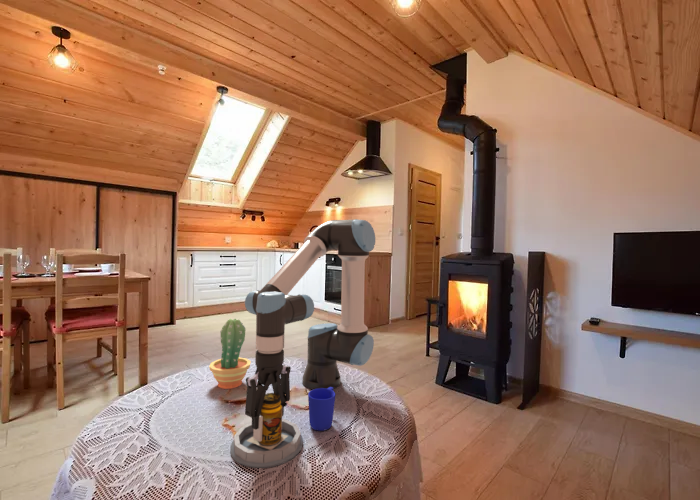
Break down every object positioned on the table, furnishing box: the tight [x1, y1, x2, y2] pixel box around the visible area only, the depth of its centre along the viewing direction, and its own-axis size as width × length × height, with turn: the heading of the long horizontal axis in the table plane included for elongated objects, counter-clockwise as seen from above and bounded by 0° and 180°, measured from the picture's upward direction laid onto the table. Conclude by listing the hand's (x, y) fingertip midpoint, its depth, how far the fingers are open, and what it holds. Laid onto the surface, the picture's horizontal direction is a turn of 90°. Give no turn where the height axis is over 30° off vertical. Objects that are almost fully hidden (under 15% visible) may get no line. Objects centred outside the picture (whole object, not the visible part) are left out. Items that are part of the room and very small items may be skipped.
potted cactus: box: [208, 318, 252, 390], centre depth 133 cm, size 15×15×25 cm
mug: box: [307, 387, 336, 432], centre depth 106 cm, size 8×12×10 cm
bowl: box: [230, 418, 304, 469], centre depth 93 cm, size 19×19×3 cm
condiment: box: [247, 392, 288, 450], centre depth 93 cm, size 7×8×12 cm
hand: (267, 433), depth 93 cm, fingers closed on condiment, 6 cm apart
